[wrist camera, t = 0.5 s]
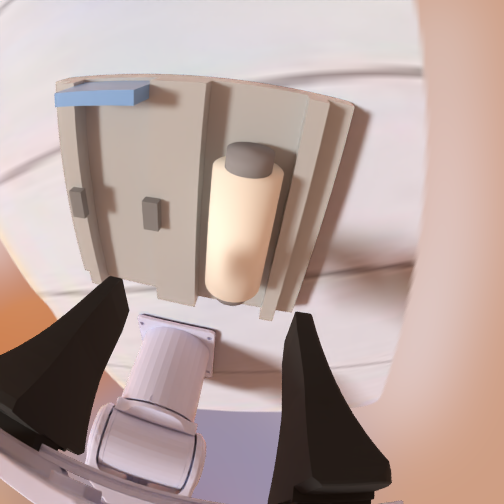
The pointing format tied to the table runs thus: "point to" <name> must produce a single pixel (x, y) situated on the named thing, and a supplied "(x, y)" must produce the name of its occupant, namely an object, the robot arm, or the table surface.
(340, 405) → the robot arm
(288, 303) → the beige mounting plate
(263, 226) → the cream cylinder
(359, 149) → the table surface
